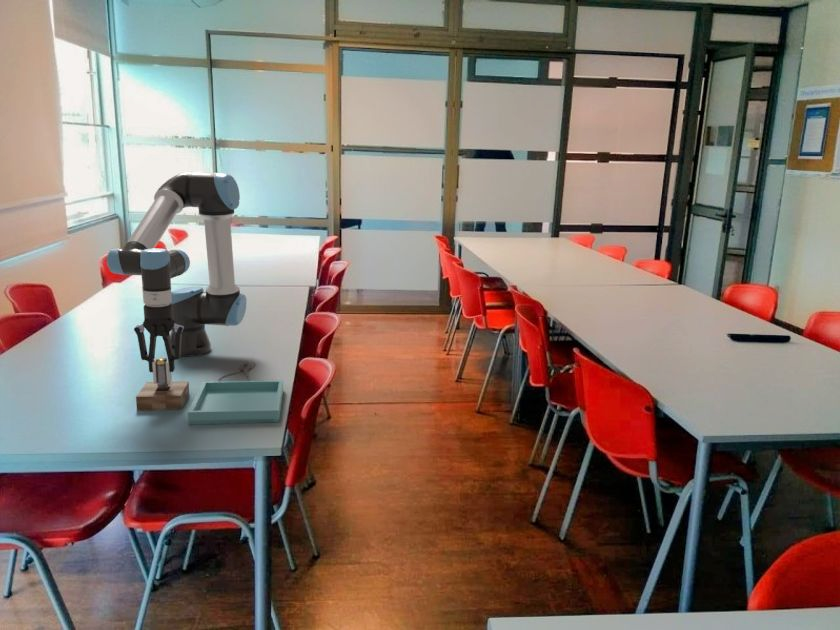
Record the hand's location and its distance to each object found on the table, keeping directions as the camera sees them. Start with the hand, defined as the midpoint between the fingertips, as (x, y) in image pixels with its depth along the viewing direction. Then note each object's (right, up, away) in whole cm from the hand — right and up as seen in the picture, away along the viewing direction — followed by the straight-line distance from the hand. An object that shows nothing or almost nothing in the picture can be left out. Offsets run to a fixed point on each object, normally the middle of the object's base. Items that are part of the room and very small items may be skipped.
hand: (162, 382), depth 188 cm
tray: (+22, -7, 0) cm, 23 cm away
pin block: (0, -6, +1) cm, 6 cm away
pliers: (+14, -1, +27) cm, 31 cm away
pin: (0, -6, +1) cm, 6 cm away
